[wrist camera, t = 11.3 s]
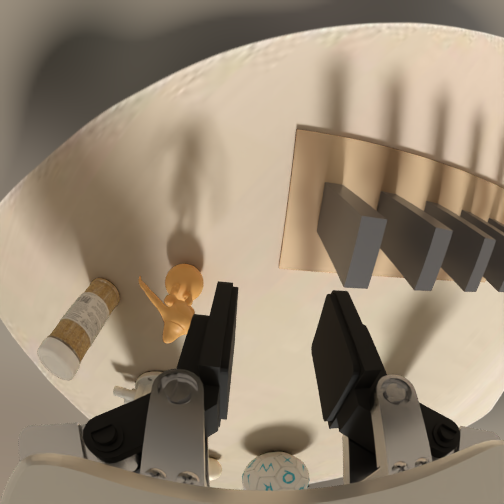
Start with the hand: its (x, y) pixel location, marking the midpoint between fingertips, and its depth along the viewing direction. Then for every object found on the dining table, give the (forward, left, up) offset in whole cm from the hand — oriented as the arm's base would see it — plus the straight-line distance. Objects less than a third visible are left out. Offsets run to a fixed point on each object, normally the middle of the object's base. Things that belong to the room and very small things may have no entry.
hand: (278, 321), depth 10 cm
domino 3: (+18, 0, -17) cm, 25 cm away
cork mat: (+18, 0, -17) cm, 25 cm away
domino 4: (+24, 0, -17) cm, 29 cm away
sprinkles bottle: (-19, -13, -17) cm, 29 cm away
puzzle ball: (+9, -58, -17) cm, 61 cm away
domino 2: (+12, 0, -17) cm, 21 cm away
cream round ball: (-7, -65, -17) cm, 68 cm away
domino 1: (+6, 0, -17) cm, 18 cm away
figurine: (-7, -8, -17) cm, 20 cm away
